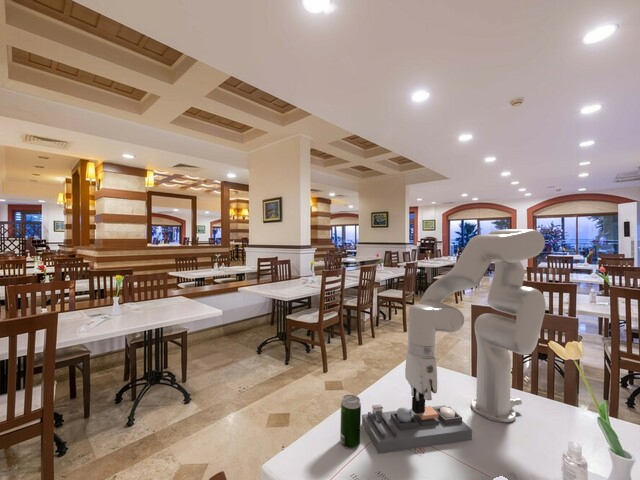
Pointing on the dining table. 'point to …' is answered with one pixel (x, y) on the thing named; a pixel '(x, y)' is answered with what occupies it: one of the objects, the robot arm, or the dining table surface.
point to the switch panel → (414, 431)
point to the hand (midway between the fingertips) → (418, 411)
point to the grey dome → (404, 415)
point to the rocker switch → (428, 413)
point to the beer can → (350, 422)
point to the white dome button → (447, 412)
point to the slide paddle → (377, 412)
